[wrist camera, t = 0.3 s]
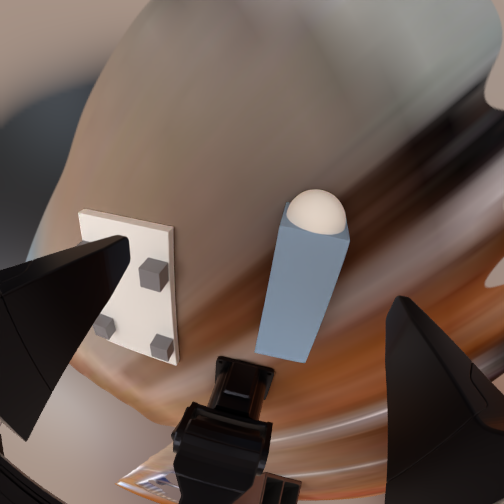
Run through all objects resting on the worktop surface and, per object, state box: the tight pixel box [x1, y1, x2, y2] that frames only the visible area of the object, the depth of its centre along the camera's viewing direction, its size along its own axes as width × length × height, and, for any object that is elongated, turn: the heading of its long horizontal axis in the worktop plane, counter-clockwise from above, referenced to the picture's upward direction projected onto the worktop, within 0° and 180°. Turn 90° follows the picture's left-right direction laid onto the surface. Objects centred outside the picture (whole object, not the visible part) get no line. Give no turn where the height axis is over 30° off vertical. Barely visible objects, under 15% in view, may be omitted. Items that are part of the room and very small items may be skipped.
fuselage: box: [255, 189, 350, 363], centre depth 22 cm, size 14×4×4 cm, turn 173°
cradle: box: [75, 208, 180, 366], centre depth 29 cm, size 18×10×3 cm, turn 173°
